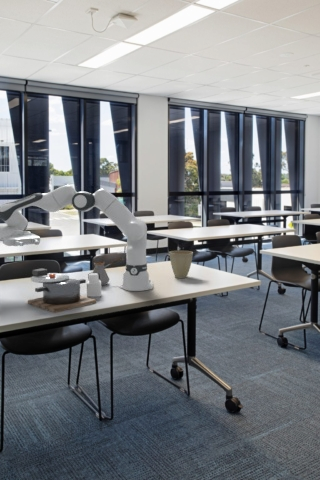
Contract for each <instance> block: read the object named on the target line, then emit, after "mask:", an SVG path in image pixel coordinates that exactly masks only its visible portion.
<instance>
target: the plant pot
mask: <svg viewBox="0 0 320 480" xmlns="http://www.w3.org/2000/svg"><path fill="white" fill-rule="evenodd" d="M168 252H169V259H170V260H169V261H170V265H171V269H172V272H173V275H174V278H176V279H185V278H187V276H188V274H189V272H190V269H191V265H192V260H193V255H194V252H193V251H191V250H190V251H189V250H171V251H168Z"/></svg>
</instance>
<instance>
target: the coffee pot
mask: <svg viewBox="0 0 320 480" xmlns="http://www.w3.org/2000/svg"><path fill="white" fill-rule="evenodd" d="M120 260H122V261H124V258H123V256H122V257H120V258H117V259H114V260H113V261H111V262H110V263H109V264H106V263H105V261H96V262H93V265H94V268H93V270H92V273H93V272H96V273H99V274H100V281H101V287H103V286H106V285H107V284H108V283H109V282H110V277H109V276H108V273H107V271H106V268H107V267H109V266H110V265H114V264H115V263H117V262H118V261H120ZM105 264H106V265H105Z"/></svg>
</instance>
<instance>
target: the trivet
mask: <svg viewBox="0 0 320 480" xmlns="http://www.w3.org/2000/svg"><path fill="white" fill-rule="evenodd" d="M92 303H93V304H96V303H97V299H96V298H95V299H94V298H91V297H87V296H84V295H82V294H80V301H78V302H76V303H72V304H65V305H51V304H46V303H44V302H43V296H41V297H36V298H31V299H28V300H27V304H30V305H31V306H34V307H37V308H40V309H43V310H46V309H47V311H49V312H52V313H54V314H56V313H59V312H65V311H68V310H72V309H76V308H81V307H83V306H84V305H85V306H88V304H89V305H93V304H92Z"/></svg>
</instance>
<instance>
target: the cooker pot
mask: <svg viewBox="0 0 320 480" xmlns="http://www.w3.org/2000/svg"><path fill="white" fill-rule="evenodd" d="M81 284H87V281H86V279H84V278H81V279H76V278H69V279H68V280H65V281H61V282H55V283H42V286H39V287H35V289H34V291H35V292H36V293H41V292H42V297H43V302H44V303H46V304H51V305H65V304H72V303H76V302H78V301H80V295H81Z"/></svg>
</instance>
